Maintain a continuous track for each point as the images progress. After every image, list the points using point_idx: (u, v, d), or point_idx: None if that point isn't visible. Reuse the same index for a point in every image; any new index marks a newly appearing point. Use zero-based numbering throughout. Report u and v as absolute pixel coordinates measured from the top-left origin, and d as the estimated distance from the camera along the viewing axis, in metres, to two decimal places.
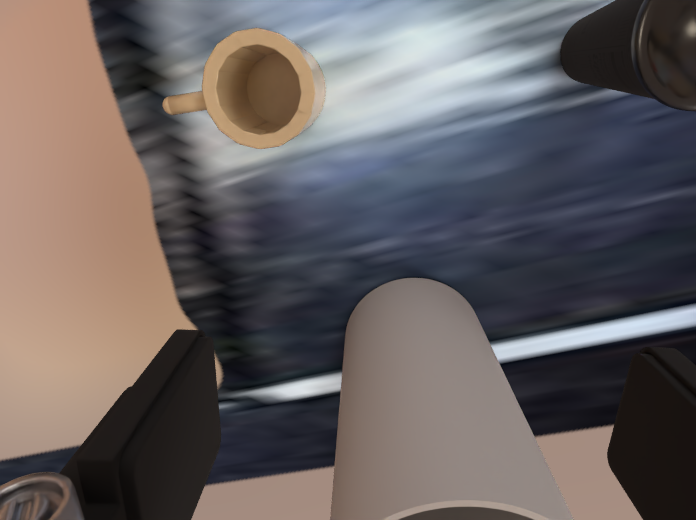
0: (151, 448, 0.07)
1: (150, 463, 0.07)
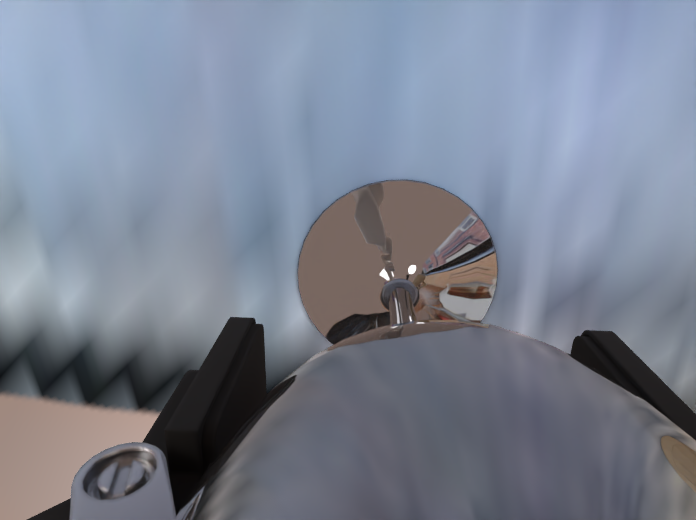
0: (225, 422, 0.08)
1: (225, 436, 0.08)
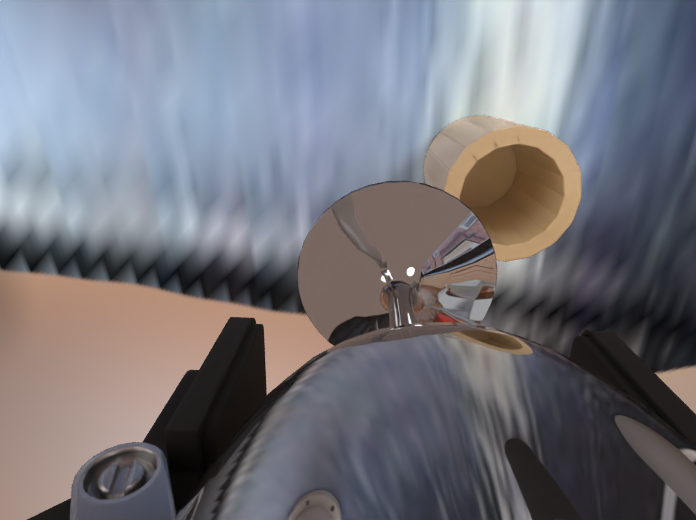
0: (225, 422, 0.08)
1: (225, 436, 0.08)
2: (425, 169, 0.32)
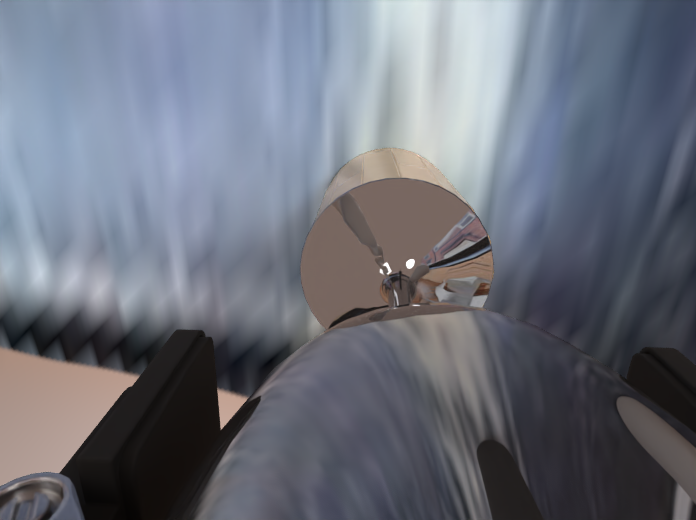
0: (151, 448, 0.07)
1: (150, 463, 0.07)
2: None
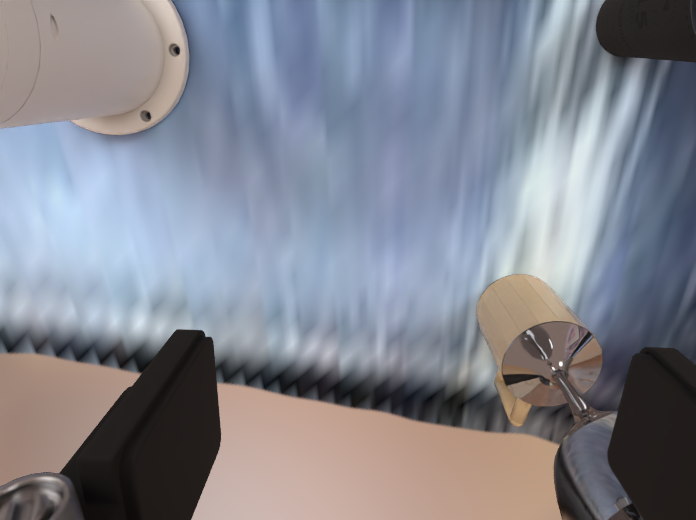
0: (151, 448, 0.07)
1: (150, 463, 0.07)
2: (480, 315, 0.42)
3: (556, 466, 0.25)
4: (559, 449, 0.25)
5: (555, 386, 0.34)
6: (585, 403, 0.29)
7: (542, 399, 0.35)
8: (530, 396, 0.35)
